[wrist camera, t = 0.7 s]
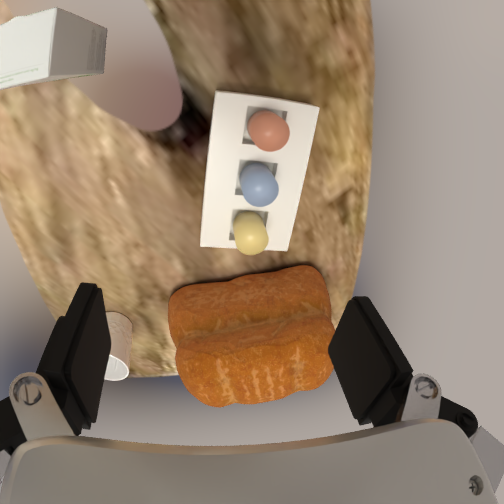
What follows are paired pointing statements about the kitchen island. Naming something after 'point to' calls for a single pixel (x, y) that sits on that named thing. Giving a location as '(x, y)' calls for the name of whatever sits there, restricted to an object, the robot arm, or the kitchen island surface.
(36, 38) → the skincare box
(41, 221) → the kitchen island surface
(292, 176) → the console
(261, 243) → the mustard button
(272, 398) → the bread
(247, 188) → the slate button
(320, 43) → the kitchen island surface
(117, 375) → the white cup
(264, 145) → the rust button
